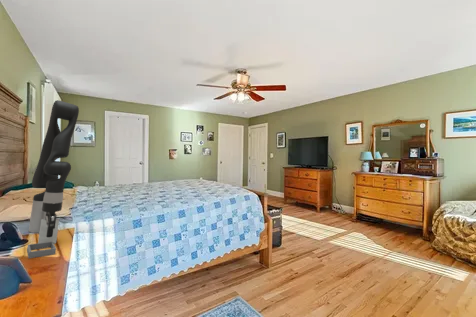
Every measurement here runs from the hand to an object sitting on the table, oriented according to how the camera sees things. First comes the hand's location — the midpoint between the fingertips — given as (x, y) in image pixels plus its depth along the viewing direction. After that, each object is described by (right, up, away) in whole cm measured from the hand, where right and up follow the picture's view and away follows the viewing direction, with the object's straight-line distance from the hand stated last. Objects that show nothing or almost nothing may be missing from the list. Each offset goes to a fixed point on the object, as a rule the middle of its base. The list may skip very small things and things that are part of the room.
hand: (48, 234), depth 111 cm
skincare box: (0, -5, 0) cm, 5 cm away
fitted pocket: (+5, -4, -10) cm, 12 cm away
